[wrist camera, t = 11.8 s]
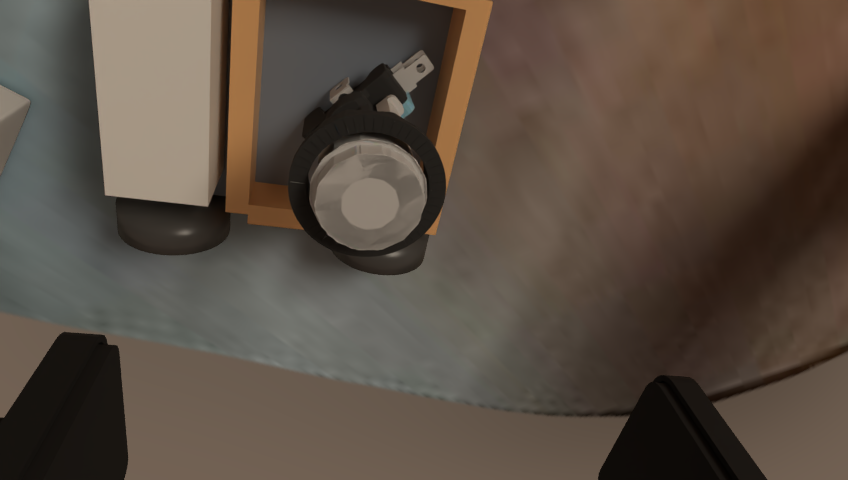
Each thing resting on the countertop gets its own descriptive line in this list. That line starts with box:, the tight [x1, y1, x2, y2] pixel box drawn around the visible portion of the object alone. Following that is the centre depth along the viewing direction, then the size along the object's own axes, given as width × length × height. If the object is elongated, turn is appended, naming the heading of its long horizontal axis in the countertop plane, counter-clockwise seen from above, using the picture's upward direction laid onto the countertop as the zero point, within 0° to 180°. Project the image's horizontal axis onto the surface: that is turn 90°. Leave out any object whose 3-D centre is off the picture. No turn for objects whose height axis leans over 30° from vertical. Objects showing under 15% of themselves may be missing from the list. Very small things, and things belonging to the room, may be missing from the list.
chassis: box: [89, 0, 493, 275], centre depth 25 cm, size 16×15×6 cm
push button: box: [288, 50, 446, 257], centre depth 22 cm, size 7×5×10 cm
